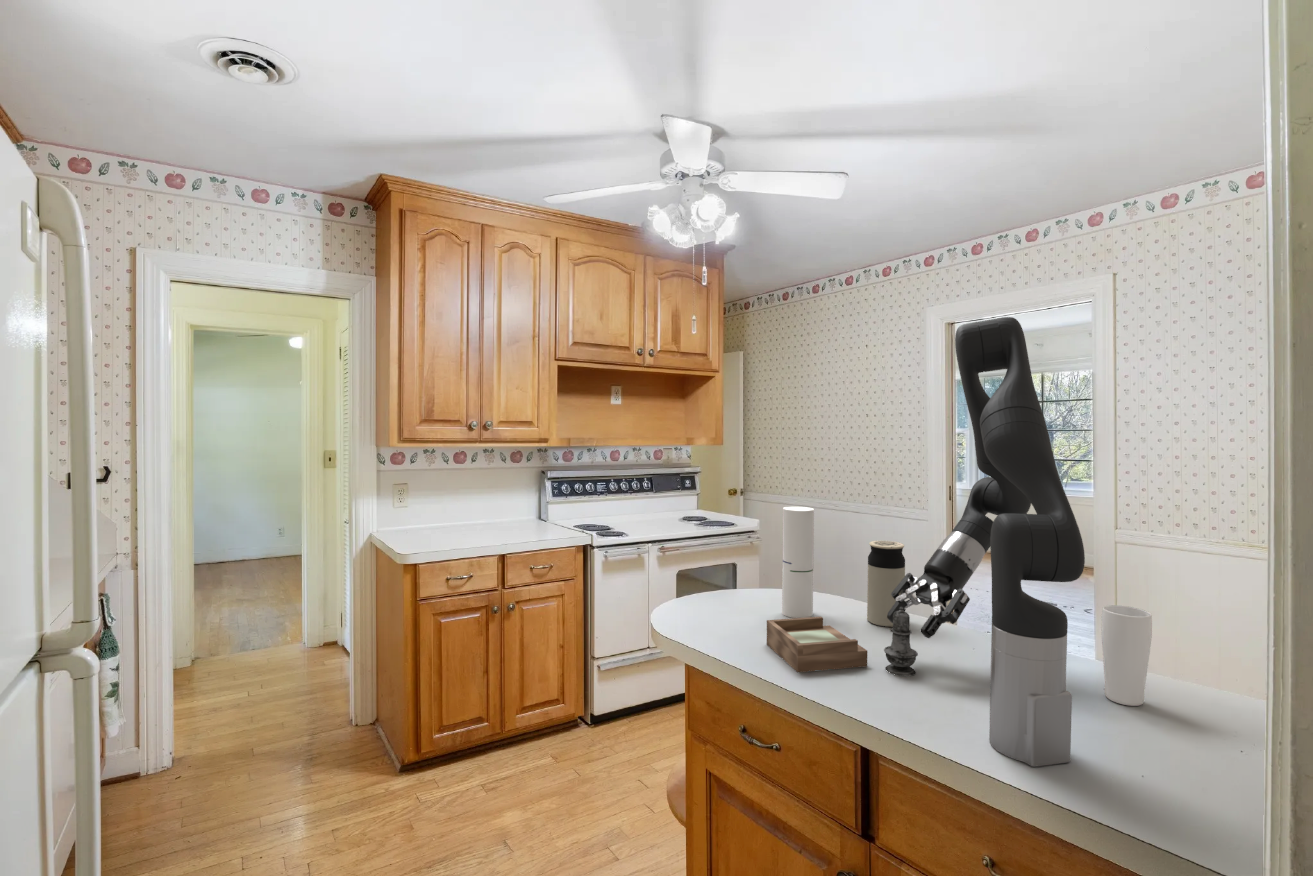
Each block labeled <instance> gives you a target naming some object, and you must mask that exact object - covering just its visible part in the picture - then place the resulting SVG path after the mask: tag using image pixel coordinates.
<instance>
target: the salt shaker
mask: <svg viewBox="0 0 1313 876" xmlns="http://www.w3.org/2000/svg"><path fill="white" fill-rule="evenodd" d="M910 618H911V617H910V615H909V613H908V612H907V611H905V612H904V611H903V607H902V606H901V607H900V610H899V611H896V612H895V613H894V614H893V627H891V629H890V632H891V633H892V634H891V636H892V637H891V640H892V641H891V644H890V645H889V646H886V647H884V648H883V651H884V653H885V657H886V659H887V661H888V662H889V664H888V665H886V666H885V667H884V668H885V669H884V670H885V671H886V670H887V671H888V672H887V671H886V672H887V673H889V672H890V673H889V674H891V675H894V674H895V675H894V676H899V677H912V676H914V675H916V673H917V671H916V669H915V668H913V667H912V666H913V665H914V663H915V662H916V659H917V657H918V656H919V655H918V651H917V650H916V649H913V648H912V647H911V643H910V640H911V639H910V637H911V634H912V631H911V630H910V625H911V624H910V620H911V619H910Z"/></svg>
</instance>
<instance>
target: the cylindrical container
mask: <svg viewBox="0 0 1313 876" xmlns="http://www.w3.org/2000/svg"><path fill="white" fill-rule="evenodd" d="M814 527H815V509H814V508H812V507H809V506H784V507H782V571H781V573H782V574H781V575H782V577H781V578H782V580H781V581H782V585H781V586H782V588H781V590H782V591H781V595H782V596H781V613H782V615H783V616H785V617H788V618H806V617H813V615H814V551H815V549H814V545H815V543H814V541H815V540H814V539H815V538H814V537H815V536H814V533H815V532H814V531H815V528H814Z"/></svg>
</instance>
